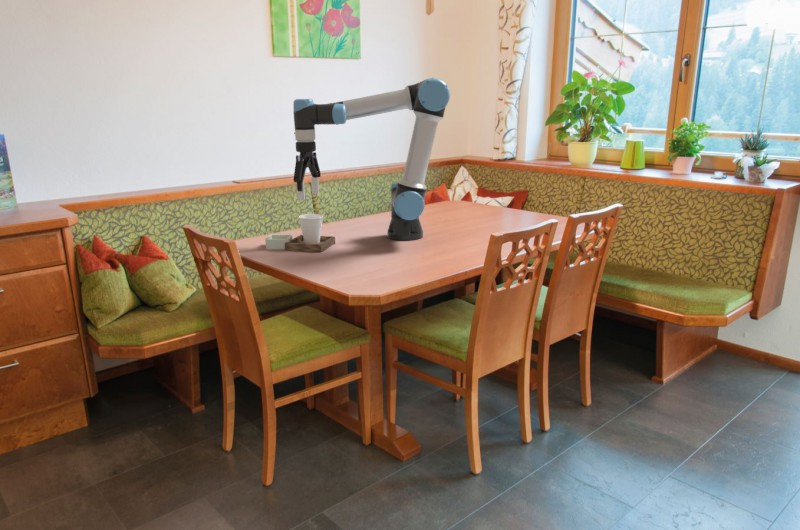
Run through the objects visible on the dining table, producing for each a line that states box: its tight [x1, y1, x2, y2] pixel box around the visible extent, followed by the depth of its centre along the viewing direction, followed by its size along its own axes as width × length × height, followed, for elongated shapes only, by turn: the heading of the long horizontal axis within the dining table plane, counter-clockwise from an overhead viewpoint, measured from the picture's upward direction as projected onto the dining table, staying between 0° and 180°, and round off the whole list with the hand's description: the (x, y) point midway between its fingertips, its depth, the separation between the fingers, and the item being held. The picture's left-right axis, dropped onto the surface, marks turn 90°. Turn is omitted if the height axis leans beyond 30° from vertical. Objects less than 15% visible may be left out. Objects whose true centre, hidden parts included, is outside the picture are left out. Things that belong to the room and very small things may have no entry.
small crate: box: [264, 233, 294, 251], centre depth 240 cm, size 9×9×4 cm
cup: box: [298, 213, 324, 244], centre depth 241 cm, size 10×10×11 cm
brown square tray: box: [284, 234, 336, 253], centre depth 240 cm, size 15×15×3 cm
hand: (308, 196), depth 235 cm, fingers open, 13 cm apart
